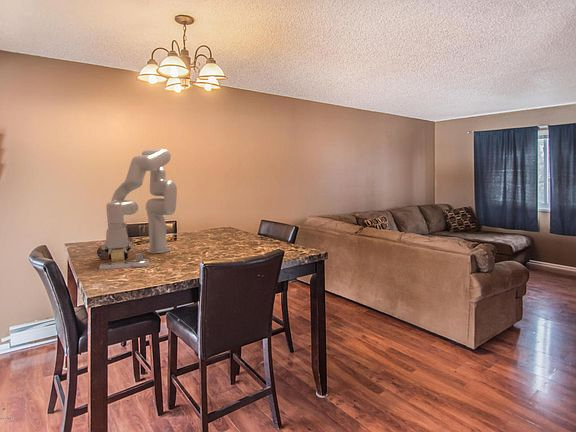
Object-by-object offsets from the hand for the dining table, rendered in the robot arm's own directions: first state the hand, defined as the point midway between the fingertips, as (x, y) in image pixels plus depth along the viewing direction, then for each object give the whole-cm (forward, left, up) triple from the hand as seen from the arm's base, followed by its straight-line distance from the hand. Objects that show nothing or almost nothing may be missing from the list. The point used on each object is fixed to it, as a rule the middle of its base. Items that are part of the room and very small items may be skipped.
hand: (118, 260), depth 187 cm
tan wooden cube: (0, 0, -1) cm, 1 cm away
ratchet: (+8, +4, -2) cm, 9 cm away
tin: (-12, -4, -2) cm, 13 cm away
